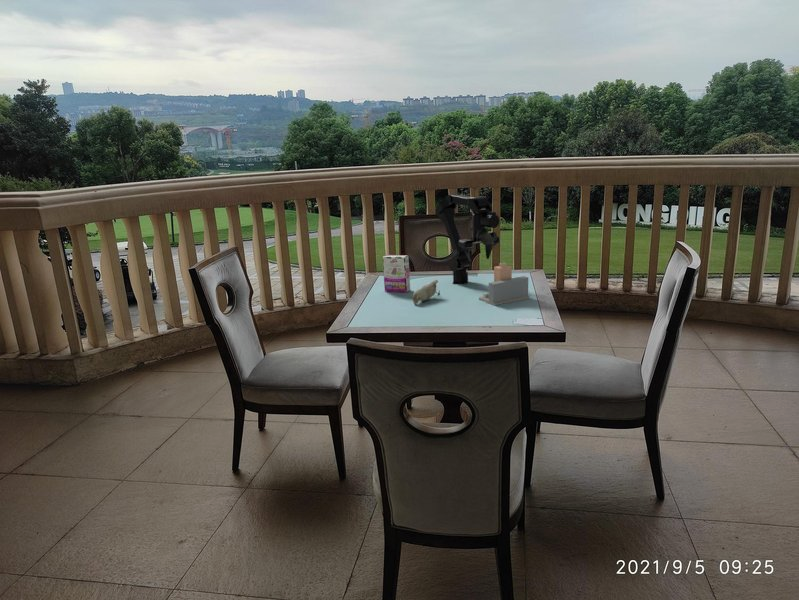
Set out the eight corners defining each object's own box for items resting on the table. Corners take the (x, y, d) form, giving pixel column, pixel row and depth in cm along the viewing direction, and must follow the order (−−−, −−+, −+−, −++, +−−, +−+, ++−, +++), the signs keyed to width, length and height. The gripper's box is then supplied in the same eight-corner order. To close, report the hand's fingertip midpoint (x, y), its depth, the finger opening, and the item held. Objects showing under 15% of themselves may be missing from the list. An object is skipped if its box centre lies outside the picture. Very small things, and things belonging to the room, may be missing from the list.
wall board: (478, 299, 230) (478, 279, 228) (512, 292, 238) (512, 272, 235) (494, 305, 221) (494, 284, 218) (529, 298, 228) (529, 277, 226)
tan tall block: (494, 296, 230) (494, 263, 226) (505, 294, 233) (505, 261, 229) (499, 298, 227) (499, 264, 223) (511, 296, 229) (511, 262, 225)
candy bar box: (410, 289, 250) (409, 255, 245) (406, 292, 246) (405, 257, 241) (388, 288, 254) (386, 254, 249) (384, 291, 250) (382, 256, 245)
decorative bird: (409, 304, 229) (408, 287, 227) (432, 295, 240) (432, 278, 238) (419, 306, 225) (418, 289, 223) (442, 296, 237) (441, 280, 235)
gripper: (471, 230, 228) (472, 266, 232) (507, 225, 236) (507, 260, 240) (457, 227, 237) (457, 262, 242) (492, 222, 245) (492, 256, 250)
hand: (479, 260), depth 243 cm, fingers open, 9 cm apart
